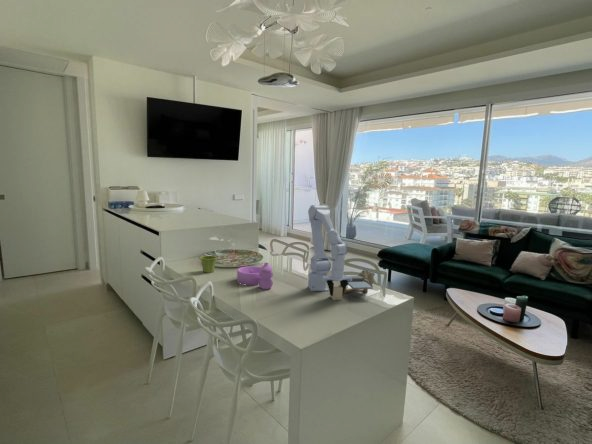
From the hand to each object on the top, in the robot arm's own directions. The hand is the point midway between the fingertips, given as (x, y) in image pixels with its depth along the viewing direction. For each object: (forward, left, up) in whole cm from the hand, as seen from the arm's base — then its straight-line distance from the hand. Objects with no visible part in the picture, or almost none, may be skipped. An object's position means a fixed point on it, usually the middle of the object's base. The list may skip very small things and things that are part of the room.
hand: (336, 295), depth 158 cm
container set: (-37, +25, -2) cm, 45 cm away
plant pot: (-63, +49, -2) cm, 80 cm away
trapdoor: (+13, +4, +2) cm, 13 cm away
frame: (+12, +8, -1) cm, 15 cm away
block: (0, 0, -1) cm, 1 cm away
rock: (+23, +17, -2) cm, 29 cm away
